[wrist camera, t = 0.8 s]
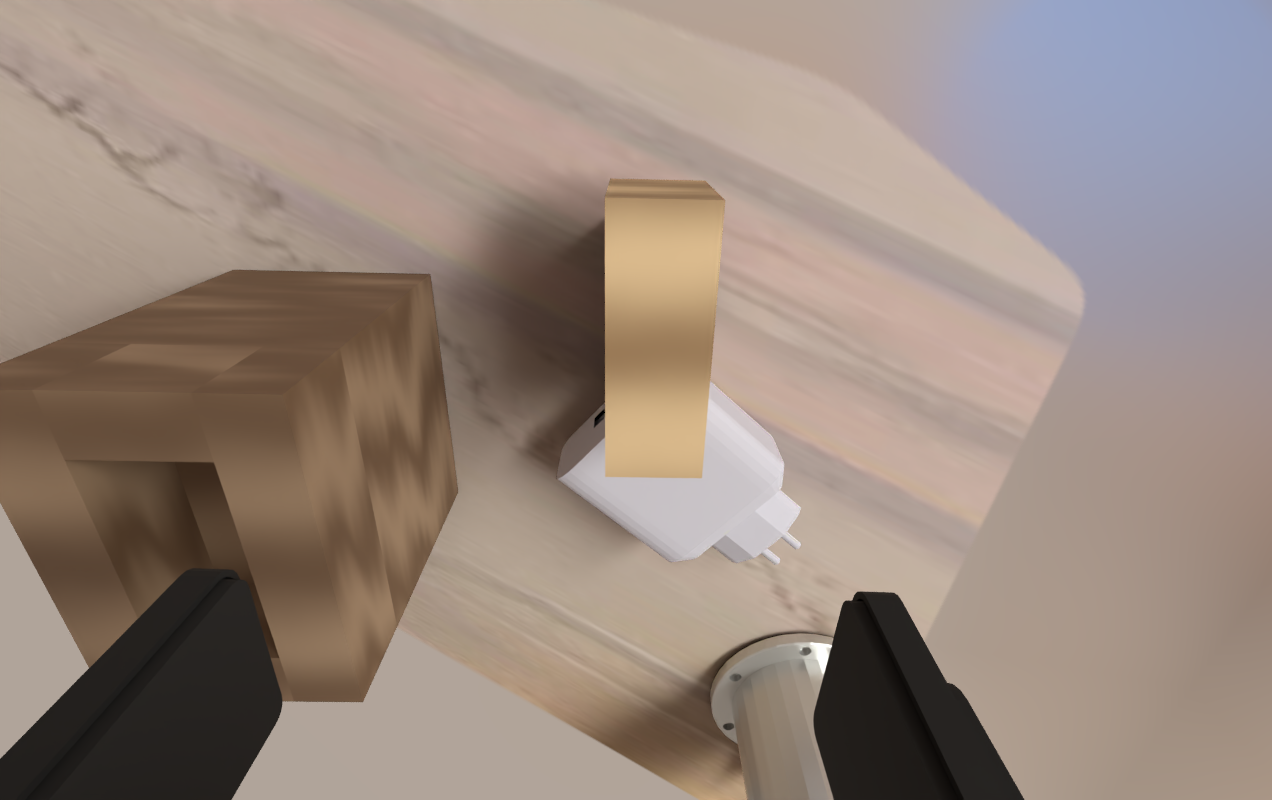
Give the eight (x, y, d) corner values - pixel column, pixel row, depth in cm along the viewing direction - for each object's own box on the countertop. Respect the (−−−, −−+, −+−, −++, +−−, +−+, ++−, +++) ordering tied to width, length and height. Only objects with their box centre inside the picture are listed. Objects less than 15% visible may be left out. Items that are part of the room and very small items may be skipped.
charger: (729, 569, 41) (562, 441, 37) (833, 487, 38) (667, 337, 34) (740, 621, 37) (553, 485, 32) (859, 534, 34) (672, 370, 30)
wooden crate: (458, 491, 38) (362, 701, 24) (293, 489, 38) (106, 699, 24) (430, 274, 32) (282, 394, 18) (233, 269, 32) (-61, 388, 18)
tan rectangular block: (681, 372, 35) (701, 478, 25) (612, 371, 34) (605, 476, 25) (693, 169, 30) (725, 200, 20) (613, 168, 30) (604, 197, 20)
